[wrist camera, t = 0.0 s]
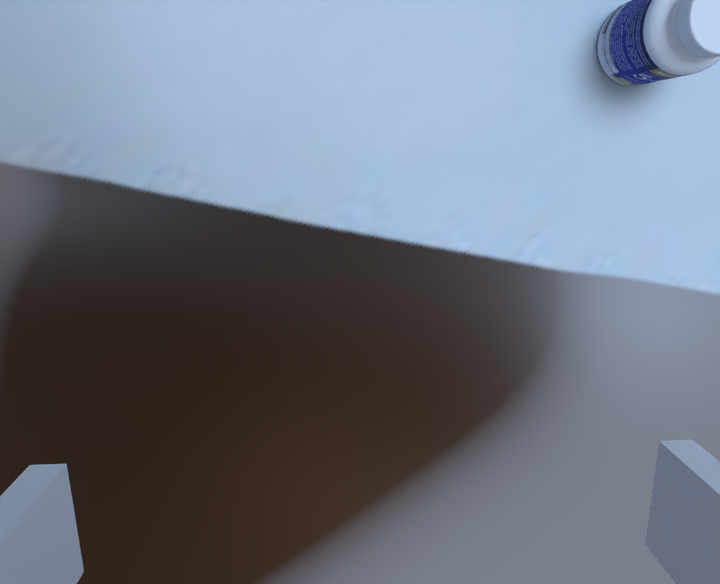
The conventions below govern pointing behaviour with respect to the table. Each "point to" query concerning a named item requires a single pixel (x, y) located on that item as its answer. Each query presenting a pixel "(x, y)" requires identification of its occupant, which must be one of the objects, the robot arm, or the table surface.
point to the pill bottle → (659, 40)
